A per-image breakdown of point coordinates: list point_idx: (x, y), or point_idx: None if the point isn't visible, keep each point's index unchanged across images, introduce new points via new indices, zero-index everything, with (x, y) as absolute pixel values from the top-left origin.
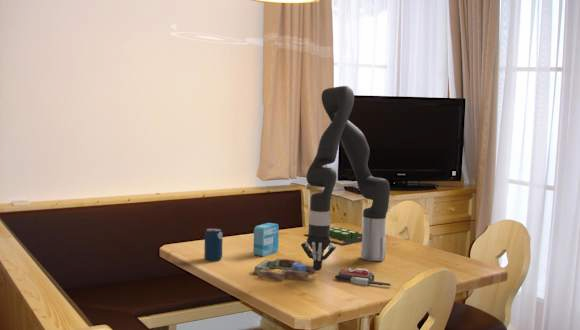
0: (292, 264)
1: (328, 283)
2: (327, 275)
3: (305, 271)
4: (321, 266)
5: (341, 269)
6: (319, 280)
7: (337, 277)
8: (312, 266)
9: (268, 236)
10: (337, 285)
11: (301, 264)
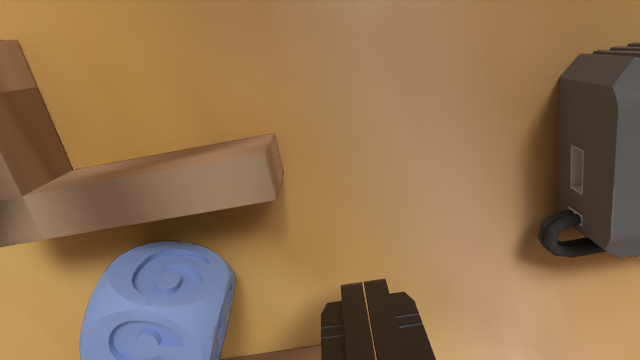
0: (8, 242)
1: (508, 343)
2: (418, 153)
3: (230, 281)
4: (417, 321)
5: (622, 134)
6: None
7: (571, 250)
8: (241, 202)
9: None
10: (589, 347)
11: (173, 355)
